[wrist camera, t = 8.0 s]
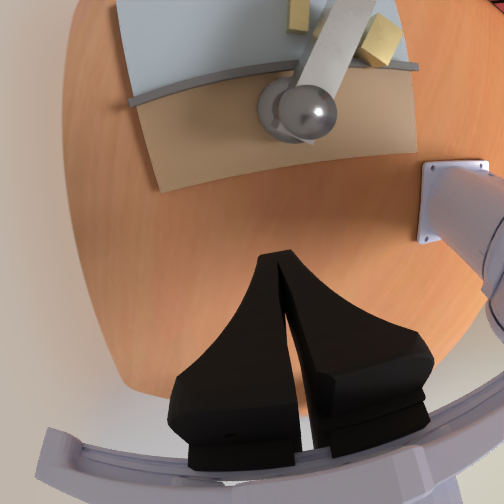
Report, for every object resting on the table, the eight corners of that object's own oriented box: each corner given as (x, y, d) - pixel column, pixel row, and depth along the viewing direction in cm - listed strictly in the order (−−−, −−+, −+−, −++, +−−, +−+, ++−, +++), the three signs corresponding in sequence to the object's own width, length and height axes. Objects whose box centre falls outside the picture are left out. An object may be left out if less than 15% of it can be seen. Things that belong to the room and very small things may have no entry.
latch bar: (306, 140, 16) (322, 150, 12) (264, 122, 15) (270, 128, 12) (364, 10, 11) (390, -4, 8) (325, -10, 10) (344, -30, 7)
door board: (380, -25, 10) (391, -33, 8) (411, 150, 18) (425, 156, 17) (120, 4, 11) (109, -3, 9) (163, 190, 19) (156, 199, 18)
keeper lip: (303, 35, 13) (308, 31, 12) (286, 32, 13) (289, 28, 12) (305, -2, 12) (309, -7, 11) (288, -5, 12) (291, -11, 10)
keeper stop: (365, 69, 14) (387, 65, 12) (342, 54, 14) (361, 46, 11) (381, 38, 13) (404, 31, 10) (358, 23, 12) (378, 12, 10)
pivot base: (316, 75, 15) (322, 73, 14) (325, 136, 17) (332, 139, 16) (250, 83, 15) (251, 81, 14) (262, 145, 17) (264, 148, 16)
